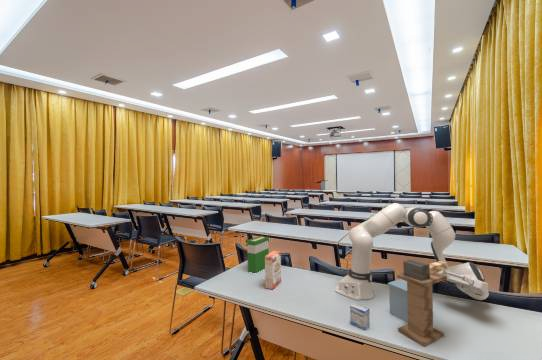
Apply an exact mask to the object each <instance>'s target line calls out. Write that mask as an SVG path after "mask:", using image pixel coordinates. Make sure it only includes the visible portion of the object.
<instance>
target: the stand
mask: <svg viewBox="0 0 542 360" xmlns="http://www.w3.org/2000/svg"><path fill="white" fill-rule="evenodd" d="M396 278H397V279H402V280H405V281H407V305H408V323H406V324H405V325H402V326H398V327H397V332H398V333H400V334H401V335H403V336H405V337H406V338H408V339H410V340H412V341H414V342H415V343H417V344H419V345H420V346H422V347H424V348H425V347H427V346H428V345H431V344H432V343H434V342H436V341H438V340H440V339H442V338H445V333H444V332H442V331H441V330H439V329H437V328H435V327H434V306H433V305H434V302H433V301H434V299H433V285H434V284H437V283H439V282H442V281H444V280H446V279H447V276H446V275H443V274H440V273H438V272H436V273H433V274H430V278H429V279H426V280H423V281H420V280H417V279H414V278H411V277H409V276H406V275H404V271H403V272H400V273H397V274H396Z"/></svg>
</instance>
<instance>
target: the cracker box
mask: <svg viewBox="0 0 542 360" xmlns="http://www.w3.org/2000/svg"><path fill="white" fill-rule="evenodd" d="M281 253H282V251H280V250H272V251H271V252H269V254H268V255H266V256H265V269H264V279H265V280H264V284H265V285H264V286H265V287H264V288H265V289H269V290H274V289H275V288H276V287H277V286H278V285H279V284H280V283H281V282H282V265H281V264H282V254H281Z"/></svg>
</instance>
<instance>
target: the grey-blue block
mask: <svg viewBox="0 0 542 360" xmlns="http://www.w3.org/2000/svg"><path fill="white" fill-rule="evenodd" d="M387 286H388V288H389V314H391V315H393V316H394V317H396V318H398V319H400V320H402V321H403V322H404V323H405V322H406V324H408V305H407V281H405V280H402V279H400V278H398V279H396V280H393V281H390V282H388V283H387Z"/></svg>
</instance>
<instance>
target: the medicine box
mask: <svg viewBox="0 0 542 360" xmlns="http://www.w3.org/2000/svg"><path fill="white" fill-rule="evenodd" d="M370 312H371V311H370V308H368V307H366V306H364V305H361V304H358V303H355V302H354V303H352V304H351V305H350V306H349V324H350V325H352V326H355V327H358V328H360V329H362V330H363V331H366V330H367V329H368V328H369V327H370V326H371V322H370V319H371V318H370V317H371V316H370Z"/></svg>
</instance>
